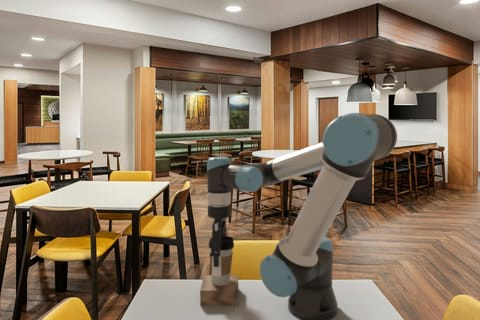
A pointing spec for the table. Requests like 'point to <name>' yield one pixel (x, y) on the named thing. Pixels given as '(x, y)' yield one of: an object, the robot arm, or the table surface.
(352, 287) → the table surface
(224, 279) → the coffee cup
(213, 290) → the walnut block
